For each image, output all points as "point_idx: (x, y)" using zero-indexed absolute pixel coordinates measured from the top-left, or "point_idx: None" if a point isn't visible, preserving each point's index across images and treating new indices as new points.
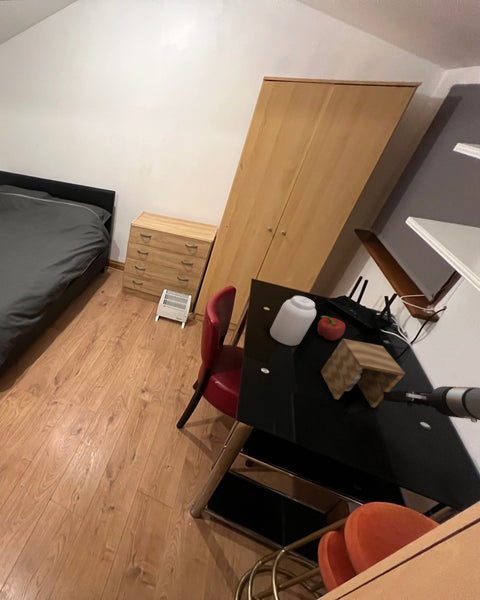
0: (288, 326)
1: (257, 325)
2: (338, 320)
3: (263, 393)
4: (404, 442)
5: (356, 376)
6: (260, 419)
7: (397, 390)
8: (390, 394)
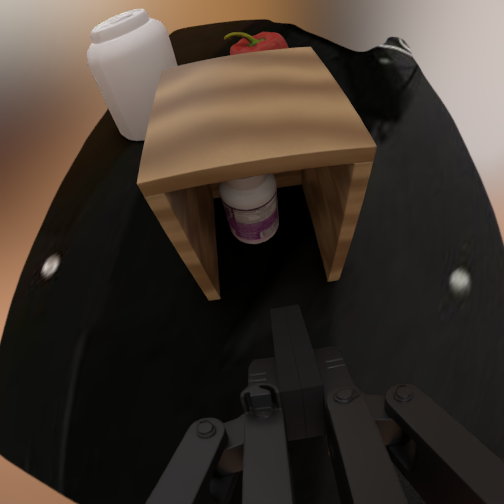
0: (111, 97)
1: (109, 117)
2: (269, 33)
3: (22, 359)
4: None
5: (252, 195)
6: (7, 449)
7: (243, 395)
8: (248, 381)
